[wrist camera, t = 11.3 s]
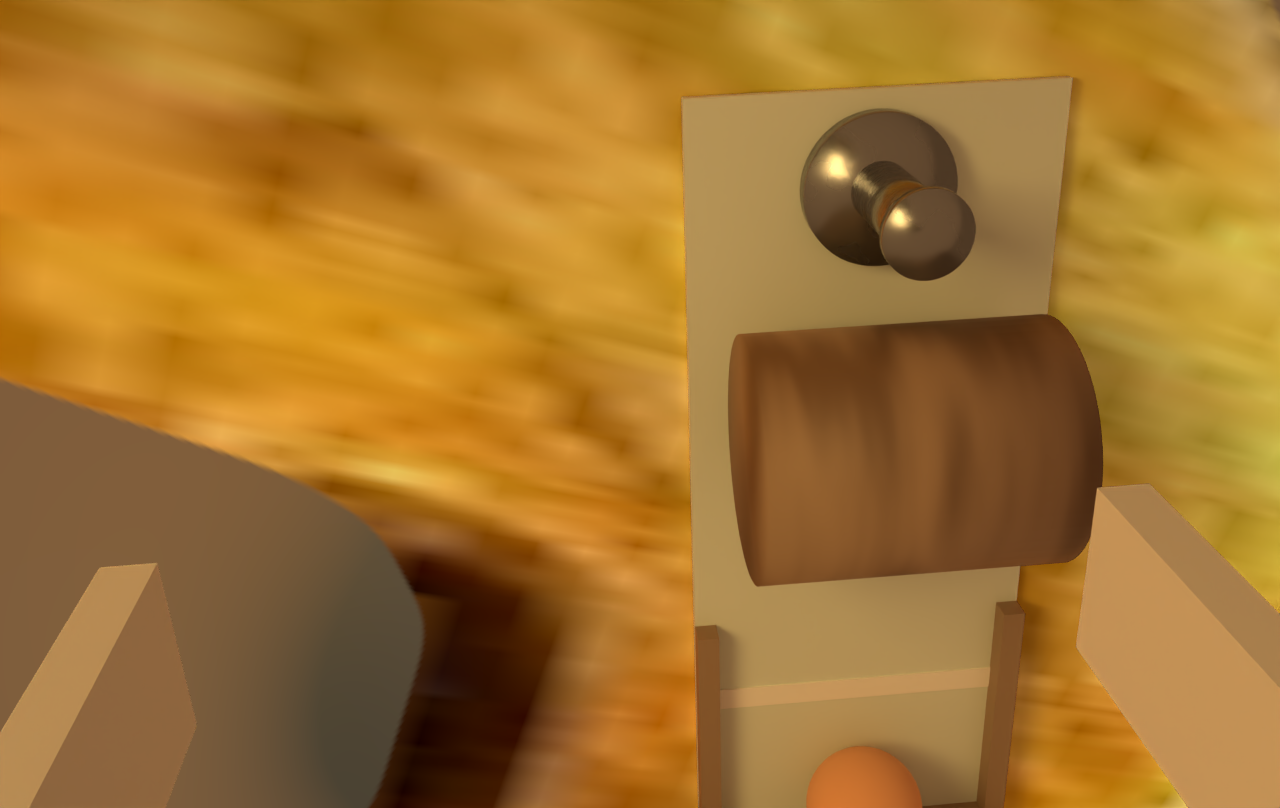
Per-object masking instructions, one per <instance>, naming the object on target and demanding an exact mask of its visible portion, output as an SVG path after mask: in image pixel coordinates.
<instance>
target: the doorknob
mask: <svg viewBox="0 0 1280 808" xmlns="http://www.w3.org/2000/svg"><path fill="white" fill-rule="evenodd" d="M957 188H958V175H957V167H956V163H955V160H954V157H953V154H952V152H951V149H950V148H949V146H948V144H947V143H946V141H945V140H944V138H943V137H942V136H941V135H940V134H939V133H938V132H937V131H936V130H935V129H934V128H933V127H932V126H930V125H929V124H927V123H926V122H924V121H923V120H921V119H919V118H918V117H916V116H914V115H912V114H910V113H907V112H904V111H901V110H896V109H889V108H877V109H869V110H865V111H861V112H858V113H855V114H853V115H850V116H848V117H846V118H844V119H842V120H841V121H839V122H838V123H836V124H835V125H834V126H832V127H831V128H830V129H829V130H828V131H826V132H825V133H824V134H823V135H822V137H821V138H820V139H819V140H818V141H817V142H816V144H815V145H814V147H813V149H812V150H811V152H810V154H809V156H808V158H807V160H806V162H805V165H804V168H803V171H802V175H801V180H800V202H801V208H802V212H803V215H804V218H805V220H806V222H807V224H808V226H809V228H810V229H811V231H812V232H813V234H814V235H815V236H816V238H817V239H818V240H819V242H820V243H821V244H822V245H823V246H824V247H825V248H826V249H827V250H829V251H830V252H831V253H832V254H834V255H835V256H837V257H839V258H840V259H843V260H845V261H847V262H850V263H854V264H857V265H864V266H882V265H889V264H890V266H891V267H892V268H893V269H894V270H895V271H896V272H898V273H899V274H900V275H902V276H904V277H906V278H908V279H912V280H917V281H930V280H935V279H939V278H941V277H944V276H946V275H948V274H950V273H951V272H953V271H954V270H955V269H957V268H958V267H959V266H960V265H961V264H962V263H963V262H964V260H965V259H966V258H967V256H968V255H969V253H970V251H971V249H972V246H973V244H974V240H975V234H976V224H975V219H974V215H973V213H972V211H971V209H970V207H969V206H968V204H967V203H966V202H965V201H964V200H963V199H962V198H961V197H960V196H958V195H957Z"/></svg>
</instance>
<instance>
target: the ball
mask: <svg viewBox="0 0 1280 808" xmlns="http://www.w3.org/2000/svg"><path fill="white" fill-rule="evenodd" d="M806 807H807V808H922V800H921V795H920V791H919V789H918V786H917V783H916V781H915V780H914V778H913V776H912V774H911V773H910V772H909V770H908V769H907V768H906V767H905V765H904V764H903V763H901V762H900V761H899V760H898V759H897V758H895V757H894V756H892V755H891V754H889V753H887V752H885V751H883V750H880V749H877V748H873V747H867V746H855V747H849V748H845V749H842V750H840V751H837V752H835V753H834V754H832V755H831V756H829V757H828V758H826V759H825V760H824V761H823V762H822V763H821V764H820V765H819V767H818V768H817V770H816V771H815V773H814V774H813V776H812V779H811V781H810V783H809V787H808V791H807V798H806Z"/></svg>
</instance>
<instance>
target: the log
mask: <svg viewBox="0 0 1280 808" xmlns="http://www.w3.org/2000/svg"><path fill="white" fill-rule="evenodd" d="M728 430H729V450H730V464H731V475H732V486H733V495H734V503H735V510H736V517H737V524H738V530H739V536H740V541H741V546H742V550H743V555H744V559H745V562H746V566H747V569H748V572H749V575H750V577H751V579H752V581H753V583H754V584H755V585H756V586H757V587H760V586H773V585H785V584H798V583H811V582H823V581H836V580H849V579H862V578H874V577H887V576H900V575H912V574H925V573H938V572H951V571H963V570H976V569H989V568H1001V567H1014V566H1027V565H1039V564H1052V563H1064V562H1069V561H1071V560H1073V559H1075V558H1076V557H1077V556H1078V555H1079V554H1080V553H1081V552H1082V550H1083V549H1084V548H1085V546H1086V544H1087V543H1088V541H1089V539H1090V537H1091V530H1092V523H1093V515H1094V508H1095V500H1096V493H1097V488H1099V487H1102V477H1103V446H1102V434H1101V424H1100V417H1099V410H1098V405H1097V400H1096V395H1095V391H1094V387H1093V384H1092V380H1091V376H1090V374H1089V371H1088V368H1087V365H1086V362H1085V360H1084V357H1083V355H1082V353H1081V351H1080V348H1079V347H1078V345H1077V343H1076V341H1075V339H1074V338H1073V336H1072V335H1071V333H1070V332H1069V331H1068V329H1067V328H1066V327H1065V326H1064V325H1063V324H1062V323H1061V322H1060V321H1059V320H1057V319H1056V318H1054V317H1052V316H1050V315H1047V314H1034V315H1019V316H1003V317H988V318H973V319H958V320H943V321H928V322H912V323H897V324H882V325H867V326H852V327H837V328H822V329H806V330H791V331H776V332H761V333H746V334H738V335H736V337H735V339H734V342H733V345H732V350H731V356H730V364H729V378H728Z"/></svg>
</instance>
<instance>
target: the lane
mask: <svg viewBox="0 0 1280 808" xmlns="http://www.w3.org/2000/svg"><path fill="white" fill-rule="evenodd" d="M1072 81H1073V78H1072V77H1070V76H1059V77H1041V78H1022V79H1004V80H985V81H967V82H948V83H929V84H911V85H892V86H874V87H855V88H837V89H818V90H800V91H781V92H763V93H744V94H726V95H707V96H688V97H681V108H682V150H683V192H684V234H685V276H686V318H687V359H688V401H689V443H690V485H691V527H692V569H693V611H694V652H695V694H696V736H697V778H698V808H807V807H806V798H807V791H808V787H809V783H810V781H811V779H812V776H813V774H814V773H815V771H816V770H817V768H818V767H819V765H820V764H821V763H822V762H823V761H824V760H825V759H826V758H828V757H829V756H831V755H832V754H834V753H835V752H837V751H840V750H842V749H845V748H849V747H855V746H867V747H873V748H877V749H880V750H883V751H885V752H887V753H889V754H891V755H892V756H894V757H895V758H897V759H898V760H899V761H900V762H901V763H903V764H904V765H905V767H906V768H907V769H908V770H909V772H910V773H911V774H912V776H913V778H914V780H915V781H916V783H917V786H918V789H919V791H920V795H921V800H922V808H1004V799H1005V790H1006V781H1007V772H1008V763H1009V755H1010V746H1011V737H1012V728H1013V719H1014V710H1015V701H1016V692H1017V683H1018V674H1019V665H1020V656H1021V647H1022V638H1023V629H1024V620H1025V613H1024V611H1023V610H1022V608H1021V607H1020V605H1019V604H1018V602H1017V592H1018V583H1019V573H1020V566H1014V567H1001V568H989V569H976V570H963V571H951V572H938V573H925V574H912V575H900V576H887V577H874V578H862V579H849V580H836V581H823V582H811V583H798V584H785V585H773V586H760V587H757V586H756V585H755V584H754V583H753V581H752V579H751V577H750V575H749V572H748V569H747V566H746V562H745V559H744V555H743V550H742V546H741V541H740V536H739V530H738V524H737V517H736V510H735V503H734V495H733V486H732V475H731V464H730V450H729V430H728V378H729V364H730V356H731V350H732V345H733V342H734V339H735V337H736V335H738V334H746V333H761V332H776V331H791V330H806V329H822V328H837V327H852V326H867V325H882V324H897V323H912V322H928V321H943V320H958V319H973V318H988V317H1003V316H1019V315H1034V314H1047V313H1048V304H1049V295H1050V285H1051V276H1052V267H1053V257H1054V248H1055V239H1056V230H1057V220H1058V211H1059V202H1060V192H1061V183H1062V174H1063V165H1064V155H1065V146H1066V137H1067V127H1068V118H1069V109H1070V99H1071V90H1072ZM877 108H889V109H896V110H901V111H904V112H907V113H910V114H912V115H914V116H916V117H918V118H919V119H921V120H923V121H924V122H926V123H927V124H929V125H930V126H932V127H933V128H934V129H935V130H936V131H937V132H938V133H939V134H940V135H941V136H942V137H943V138H944V140H945V141H946V143H947V144H948V146H949V148H950V149H951V152H952V154H953V157H954V160H955V163H956V167H957V175H958V188H957V195H958V196H960V197H961V198H962V199H963V200H964V201H965V202H966V203H967V204H968V206H969V207H970V209H971V211H972V213H973V215H974V219H975V224H976V234H975V240H974V244H973V246H972V249H971V251H970V253H969V255H968V256H967V258H966V259H965V260H964V262H963V263H962V264H961V265H960V266H959V267H958V268H957V269H955V270H954V271H953V272H951V273H950V274H948V275H946V276H944V277H941V278H939V279H935V280H930V281H917V280H912V279H908V278H906V277H904V276H902V275H900V274H899V273H898V272H896V271H895V270H894V269H893V268H892V267H891V266H890V264H889V265H882V266H864V265H857V264H854V263H850V262H847V261H845V260H843V259H840V258H839V257H837V256H835V255H834V254H832V253H831V252H830V251H829V250H827V249H826V248H825V247H824V246H823V245H822V244H821V243H820V242H819V240H818V239H817V238H816V236H815V235H814V234H813V232H812V231H811V229H810V228H809V226H808V224H807V222H806V220H805V218H804V215H803V212H802V208H801V202H800V180H801V175H802V171H803V168H804V165H805V162H806V160H807V158H808V156H809V154H810V152H811V150H812V149H813V147H814V145H815V144H816V142H817V141H818V140H819V139H820V138H821V137H822V135H823V134H824V133H825V132H826V131H828V130H829V129H830V128H831V127H832V126H834V125H835V124H836V123H838V122H839V121H841V120H842V119H844V118H846V117H848V116H850V115H853V114H855V113H858V112H861V111H865V110H869V109H877Z"/></svg>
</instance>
